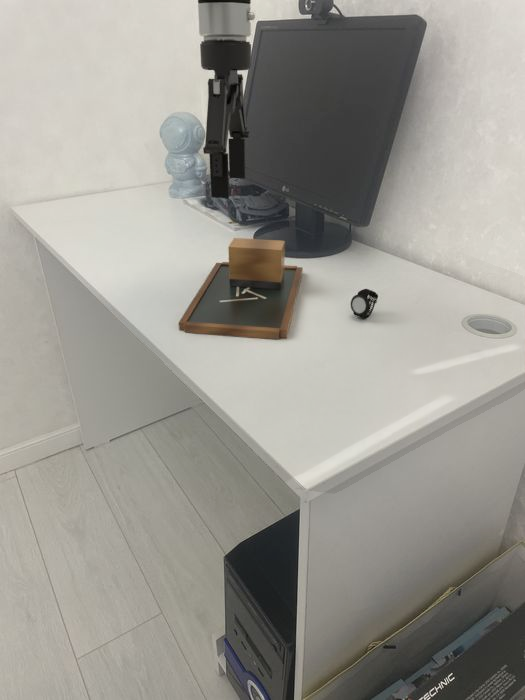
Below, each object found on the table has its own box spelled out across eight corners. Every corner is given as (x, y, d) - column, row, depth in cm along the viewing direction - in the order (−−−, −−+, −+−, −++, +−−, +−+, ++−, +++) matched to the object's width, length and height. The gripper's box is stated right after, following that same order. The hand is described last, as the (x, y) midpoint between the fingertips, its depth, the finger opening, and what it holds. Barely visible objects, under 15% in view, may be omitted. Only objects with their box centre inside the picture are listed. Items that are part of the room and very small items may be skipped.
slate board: (178, 332, 87) (177, 324, 86) (217, 268, 111) (217, 261, 110) (286, 340, 85) (286, 332, 84) (302, 273, 109) (302, 266, 108)
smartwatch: (346, 314, 92) (348, 289, 90) (371, 309, 94) (374, 284, 91) (358, 324, 89) (361, 298, 86) (384, 319, 91) (387, 293, 88)
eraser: (229, 286, 100) (228, 246, 96) (234, 276, 104) (233, 237, 100) (280, 289, 99) (281, 249, 94) (284, 279, 103) (285, 240, 99)
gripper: (233, 39, 65) (236, 208, 76) (263, 39, 86) (262, 171, 97) (175, 38, 66) (187, 205, 77) (219, 39, 87) (223, 170, 98)
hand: (229, 187), depth 87 cm, fingers open, 13 cm apart
